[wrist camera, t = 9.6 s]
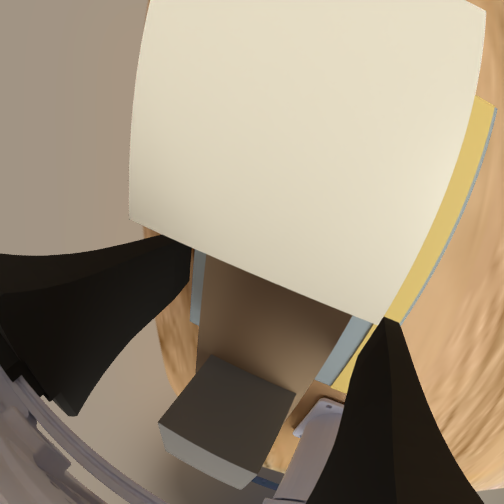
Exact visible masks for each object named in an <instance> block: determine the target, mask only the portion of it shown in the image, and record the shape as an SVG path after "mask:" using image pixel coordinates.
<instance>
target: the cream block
mask: <svg viewBox="0 0 504 504" xmlns="http://www.w3.org/2000/svg"><path fill="white" fill-rule="evenodd" d="M485 23H486V11H485V10H483V9H481V8H479V7H477V6H475V5H473V4H471V3H469V2H467V1H465V0H150V4H149V8H148V13H147V17H146V22H145V27H144V32H143V37H142V42H141V48H140V54H139V60H138V68H137V75H136V82H135V90H134V99H133V109H132V122H131V135H130V155H129V220H131V221H133V222H136V223H138V224H140V225H142V226H145V227H147V228H149V229H151V230H153V231H156V232H158V233H160V234H162V235H165V236H167V237H169V238H171V239H174V240H176V241H178V242H180V243H183V244H185V245H187V246H189V247H192V248H194V249H196V250H198V251H201V252H203V253H205V254H208V255H210V256H212V257H215V258H217V259H219V260H221V261H224V262H226V263H228V264H231V265H233V266H235V267H238V268H240V269H242V270H245V271H247V272H249V273H252V274H254V275H256V276H259V277H261V278H263V279H266V280H268V281H271V282H273V283H275V284H278V285H280V286H282V287H285V288H287V289H290V290H292V291H294V292H297V293H299V294H302V295H304V296H306V297H309V298H311V299H314V300H316V301H319V302H321V303H323V304H326V305H328V306H331V307H333V308H336V309H338V310H341V311H343V312H346V313H348V314H350V315H353V316H355V317H358V318H360V319H363V320H365V321H368V322H370V323H373V324H375V325H379V323H380V321H381V320H382V318H383V317H384V315H385V313H386V312H387V310H388V308H389V307H390V305H391V303H392V302H393V300H394V298H395V296H396V295H397V293H398V291H399V289H400V287H401V286H402V284H403V282H404V280H405V278H406V277H407V275H408V273H409V271H410V269H411V267H412V265H413V263H414V261H415V259H416V257H417V255H418V253H419V251H420V249H421V247H422V245H423V243H424V241H425V239H426V237H427V234H428V232H429V230H430V228H431V226H432V223H433V221H434V219H435V217H436V214H437V212H438V210H439V207H440V205H441V202H442V200H443V197H444V195H445V192H446V190H447V187H448V184H449V182H450V179H451V176H452V173H453V171H454V168H455V165H456V162H457V159H458V156H459V153H460V150H461V146H462V143H463V140H464V136H465V133H466V129H467V126H468V122H469V118H470V114H471V110H472V106H473V102H474V98H475V93H476V88H477V83H478V78H479V72H480V66H481V60H482V53H483V45H484V35H485Z"/></svg>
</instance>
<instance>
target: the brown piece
mask: <svg viewBox="0 0 504 504" xmlns="http://www.w3.org/2000/svg"><path fill="white" fill-rule="evenodd" d="M352 316H353V315H350V314H348V313H346V312H343V311H341V310H338V309H336V308H333V307H331V306H328V305H326V304H323V303H321V302H319V301H316V300H314V299H311V298H309V297H306V296H304V295H302V294H299V293H297V292H294V291H292V290H290V289H287V288H285V287H282V286H280V285H278V284H275V283H273V282H271V281H268V280H266V279H263V278H261V277H259V276H256V275H254V274H252V273H249V272H247V271H245V270H242V269H240V268H238V267H235V266H233V265H231V264H228V263H226V262H224V261H221V260H219V259H217V258H215V257H212V256H210V255H208V254H206V261H205V270H204V280H203V290H202V300H201V311H200V322H199V334H198V347H197V361H196V373H197V372H198V371H199V369H200V368H201V367H202V366H203V364H204V363H205V362H206V360H207V359H208V358H209V356H210V355H211V354H212V355H214V356H216V357H218V358H220V359H222V360H224V361H226V362H228V363H230V364H232V365H234V366H236V367H238V368H240V369H242V370H244V371H246V372H248V373H251V374H253V375H255V376H257V377H259V378H261V379H264V380H266V381H268V382H270V383H273V384H275V385H277V386H280V387H282V388H284V389H287V390H289V391H291V392H294V393H296V396H295V398H294V400H293V403H292V405H291V407H290V409H289V412H288V414H287V416H286V418H285V420H284V422H285V421H286V419H287V418H288V417H289V415H290V414H291V413H292V411H293V410H294V408H295V407H296V405H297V404H298V403H299V401H300V400H301V398H302V397H303V395H304V394H305V392H306V391H307V389H308V388H309V387H310V385H311V383H312V382H313V380H314V379H315V377H316V376H317V374H318V373H319V371H320V370H321V368H322V366H323V365H324V363H325V362H326V360H327V358H328V357H329V355H330V354H331V352H332V350H333V349H334V347H335V345H336V344H337V342H338V340H339V338H340V337H341V335H342V333H343V332H344V330H345V328H346V326H347V325H348V323H349V321H350V319H351V317H352ZM283 424H284V423H283Z"/></svg>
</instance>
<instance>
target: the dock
mask: <svg viewBox="0 0 504 504" xmlns="http://www.w3.org/2000/svg"><path fill="white" fill-rule="evenodd" d="M496 113H497V108H495V106H494V105H492V104H490V103H489V102H487V101H485V100H483V99H482V98H480V97H478V96H476V95H475V98H474V102H473V106H472V110H471V114H470V118H469V122H468V126H467V129H466V133H465V136H464V140H463V143H462V146H461V150H460V153H459V156H458V159H457V162H456V165H455V168H454V171H453V173H452V176H451V179H450V182H449V184H448V187H447V190H446V192H445V195H444V197H443V200H442V202H441V205H440V207H439V210H438V212H437V214H436V217H435V219H434V221H433V223H432V226H431V228H430V230H429V232H428V234H427V237H426V239H425V241H424V243H423V245H422V247H421V249H420V251H419V253H418V255H417V257H416V259H415V261H414V263H413V265H412V267H411V269H410V271H409V273H408V275H407V277H406V278H405V280H404V282H403V284H402V286H401V287H400V289H399V291H398V293H397V295H396V296H395V298H394V300H393V302H392V303H391V305H390V307H389V308H388V310H387V312H386V313H385V315H384V317H386V318H389V319H391V320H394V321H396V322H399V324H400V326H401V325H402V323H403V322H404V320H405V319H406V317H407V316H408V314H409V313H410V311H411V309H412V308H413V306H414V305H415V303H416V302H417V300H418V298H419V297H420V295H421V293H422V292H423V290H424V288H425V287H426V285H427V283H428V281H429V280H430V278H431V276H432V274H433V273H434V271H435V269H436V267H437V265H438V263H439V262H440V260H441V258H442V256H443V254H444V252H445V250H446V248H447V246H448V244H449V242H450V240H451V238H452V236H453V234H454V232H455V230H456V227H457V225H458V223H459V221H460V219H461V216H462V214H463V212H464V210H465V207H466V205H467V202H468V200H469V198H470V195H471V192H472V190H473V187H474V185H475V182H476V179H477V177H478V174H479V171H480V168H481V165H482V162H483V159H484V156H485V153H486V150H487V147H488V143H489V140H490V136H491V133H492V129H493V125H494V121H495V117H496ZM205 261H206V254H205V253H203V252H201V251H198V250H196V249H195V254H194V266H193V279H192V294H191V310H190V322H192V323H194V324H196V325H198V326H199V322H200V311H201V300H202V290H203V280H204V270H205ZM377 326H378V325H375V324H373V323H370V322H368V321H365V320H363V319H360V318H358V317H355V316H352V317H351V319H350V321H349V323H348V325H347V326H346V328H345V330H344V332H343V333H342V335H341V337H340V338H339V340H338V342H337V344H336V345H335V347H334V349H333V350H332V352H331V354H330V355H329V357H328V358H327V360H326V362H325V363H324V365H323V366H322V368H321V370H320V371H319V373H318V374H317V376H316V377H315V379H314V380H317V381H319V382H322V383H324V384H327V385H330V386H331V387H330V388H332V389H335V390H338V391H340V392H343V393H346V394H347V391H348V387H349V382H350V378H351V375H352V372H353V369H354V366H355V363H356V360H357V357H358V354H359V353H360V351H361V350H362V349H363V347H364V346H365V344H366V343H367V341H368V340H369V338H370V337H371V335H372V333H373V332H374V330H375V329H376V327H377Z"/></svg>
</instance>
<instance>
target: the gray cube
mask: <svg viewBox="0 0 504 504" xmlns="http://www.w3.org/2000/svg"><path fill="white" fill-rule="evenodd" d="M295 396H296V393H294V392H291V391H289V390H287V389H284V388H282V387H280V386H277V385H275V384H273V383H270V382H268V381H266V380H264V379H261V378H259V377H257V376H255V375H253V374H251V373H248V372H246V371H244V370H242V369H240V368H238V367H236V366H234V365H232V364H230V363H228V362H226V361H224V360H222V359H220V358H218V357H216V356H214V355H212V354H211V355H210V356H209V358H208V359H207V360H206V362H205V363H204V364H203V366H202V367H201V368H200V369H199V371H198V372H197V373H196V375H195V376H194V377H193V378H192V380H191V381H190V382H189V384H188V385H187V386H186V387H185V389H184V390H183V391H182V392H181V394H180V395H179V396H178V397H177V399H176V400H175V401H174V403H173V404H172V405H171V406H170V408H169V409H168V410H167V411H166V413H165V414H164V415H163V416H162V418H161V419H160V420H159V421H158V425H159V429H160V433H161V436H162V440H163V443H164V447H165V450H166V451H167V452H168V453H170V454H172V455H173V456H175V457H177V458H178V459H180V460H182V461H184V462H186V463H187V464H189V465H191V466H193V467H195V468H197V469H198V470H200V471H202V472H204V473H206V474H208V475H210V476H212V477H214V478H216V479H218V480H220V481H222V482H224V483H226V484H229V485H231V486H233V487H235V488H238V489H240V490H241V489H242V488H244V487H245V486H246V485H247V484H248V483H249V482H250V481H251V480H252V479H253V478H254V477H255V476H257V475H258V472H259V471H260V469H261V467H262V465H263V463H264V461H265V459H266V457H267V455H268V454H269V452H270V450H271V448H272V446H273V443H274V441H275V439H276V437H277V435H278V433H279V431H280V429H281V427H282V425H283V423H284V420H285V418H286V416H287V414H288V412H289V409H290V407H291V405H292V403H293V400H294V398H295Z"/></svg>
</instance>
